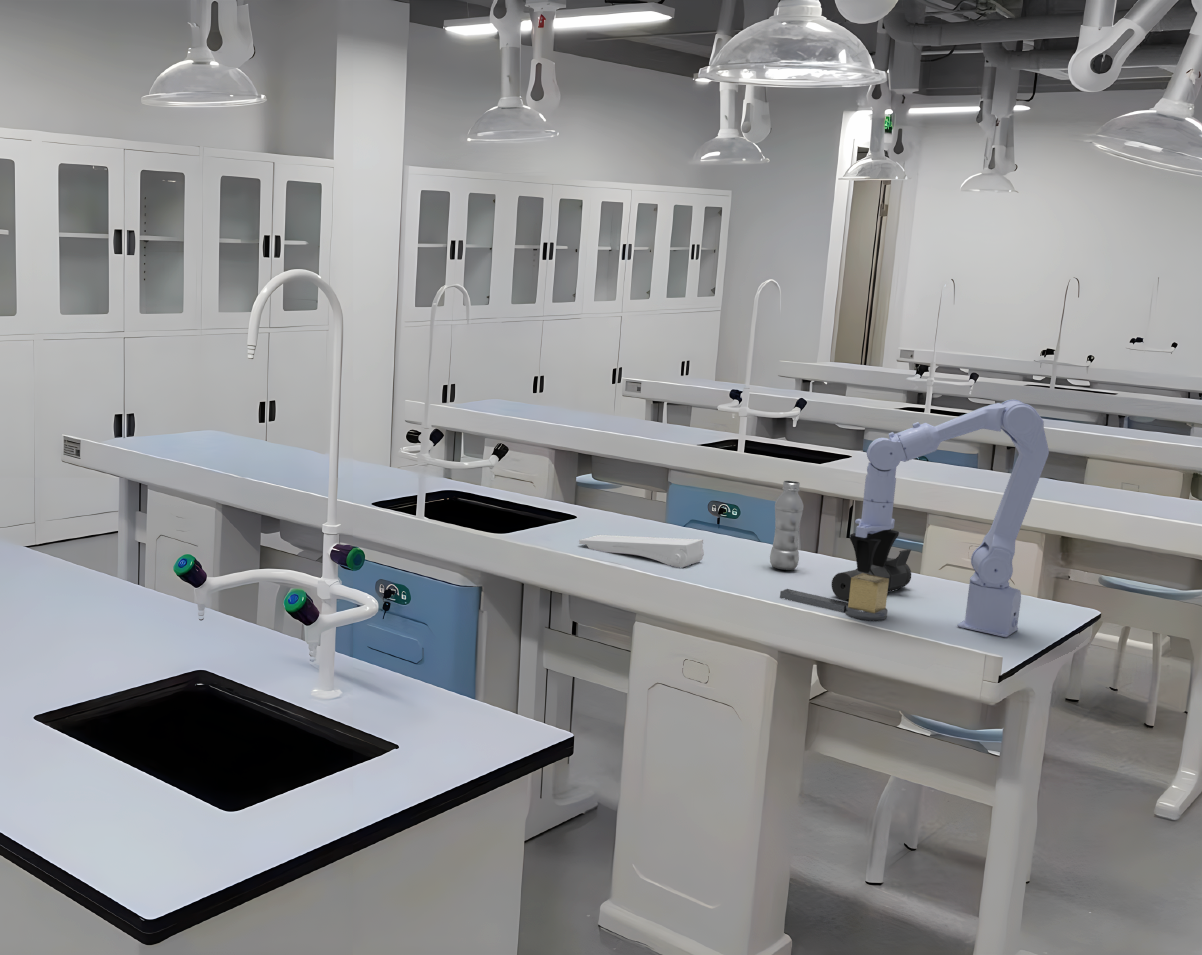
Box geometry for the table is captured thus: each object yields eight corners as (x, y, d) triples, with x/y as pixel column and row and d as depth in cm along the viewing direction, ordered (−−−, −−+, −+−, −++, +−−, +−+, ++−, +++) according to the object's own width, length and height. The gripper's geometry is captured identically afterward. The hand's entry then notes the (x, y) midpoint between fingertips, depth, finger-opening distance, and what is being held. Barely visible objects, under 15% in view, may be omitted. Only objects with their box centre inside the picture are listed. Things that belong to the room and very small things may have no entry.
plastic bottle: (776, 573, 259) (784, 484, 256) (763, 565, 265) (772, 479, 262) (802, 573, 261) (811, 485, 258) (790, 565, 267) (798, 479, 264)
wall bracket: (581, 571, 272) (687, 578, 257) (575, 542, 270) (682, 548, 255) (602, 554, 280) (707, 560, 265) (597, 526, 278) (702, 530, 263)
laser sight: (821, 595, 243) (826, 548, 242) (881, 581, 259) (886, 537, 257) (861, 606, 236) (866, 558, 235) (920, 592, 252) (925, 546, 250)
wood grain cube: (885, 608, 229) (888, 578, 228) (874, 613, 225) (878, 583, 224) (859, 602, 232) (862, 573, 232) (848, 607, 228) (851, 577, 227)
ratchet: (893, 616, 230) (895, 593, 229) (877, 624, 223) (879, 600, 223) (791, 593, 242) (794, 571, 242) (774, 600, 236) (776, 577, 235)
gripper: (873, 493, 233) (866, 559, 236) (843, 501, 222) (836, 570, 224) (907, 498, 229) (899, 566, 232) (879, 507, 218) (871, 577, 220)
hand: (871, 568), depth 227 cm, fingers open, 7 cm apart
